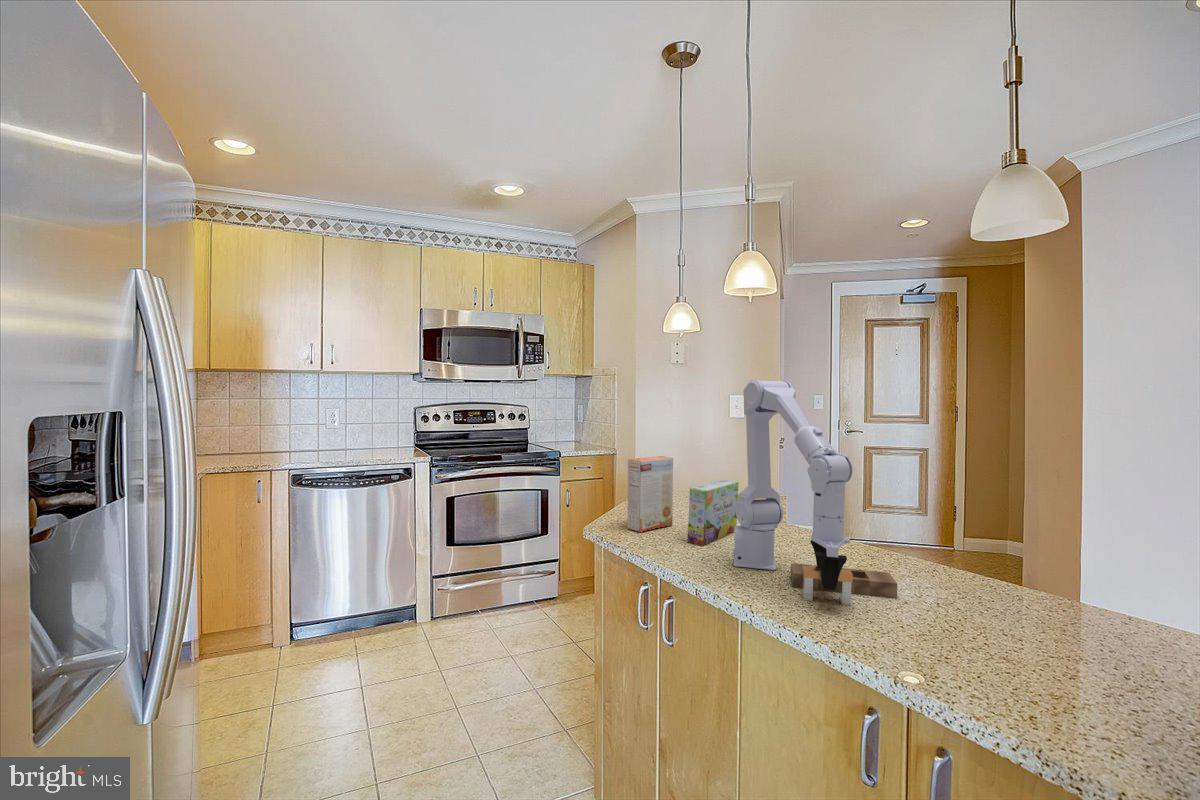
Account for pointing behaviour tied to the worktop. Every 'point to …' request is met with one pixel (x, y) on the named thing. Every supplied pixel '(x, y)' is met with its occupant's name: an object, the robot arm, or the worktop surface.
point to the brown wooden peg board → (854, 582)
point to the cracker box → (650, 493)
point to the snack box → (712, 511)
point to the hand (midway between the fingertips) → (826, 582)
